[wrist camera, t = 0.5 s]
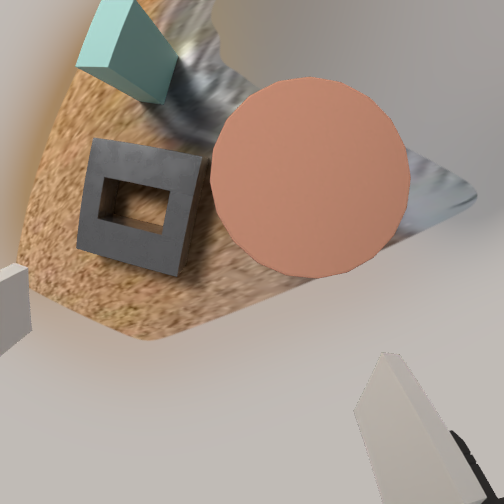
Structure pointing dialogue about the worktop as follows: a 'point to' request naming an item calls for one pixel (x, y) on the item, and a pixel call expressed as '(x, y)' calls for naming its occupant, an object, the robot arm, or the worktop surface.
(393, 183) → the coffee jar
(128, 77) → the keyed peg
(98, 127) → the worktop surface
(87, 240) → the block
